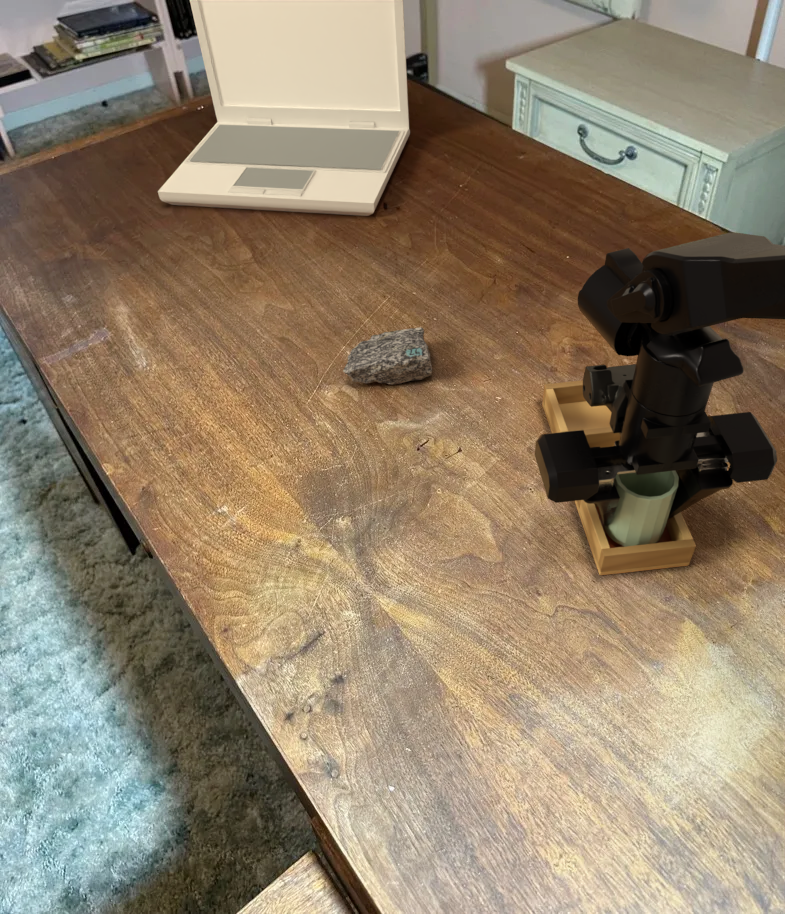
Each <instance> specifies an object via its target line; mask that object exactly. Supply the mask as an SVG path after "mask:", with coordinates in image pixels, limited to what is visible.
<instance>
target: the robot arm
mask: <svg viewBox="0 0 785 914" xmlns="http://www.w3.org/2000/svg"><path fill="white" fill-rule="evenodd" d="M577 307H578V309H579V312H581V314H582V315H583V316H584V318H585V319H586V320H587V321H588V322H589V323H590V324H591V325H592V327H593V328H594V329H595V330H596V331H597V333H598V334H600V336H601V337H602V338H603V339H604V340H605V342H606V343H607V344H608V345H609V346H610V347H611V349H612V350H613V351H614V352H615V353H616V354H617V355H618V356H624V357H636V356H637V358H636V363H634V364H624V365H623V364H622V365H614V366H607V365H606V364H597V365H587V366H585V368H584V372H583V378H582V380H583V397H584V399H585V400H586V401H587V403H588V404H589V405H590V406H591V407H594V406H603V405H604V406H607V408H608V409H609V410H610V411H611V412H612V413H611V418H610V423H609V424H610V426H611V429H612V431H613V433H619V434H620V440H618V441H615V443H614V446H611V447H602V448H600V447H591V448H590V446H589V443H588V441H587V438H586V435H585V433H584V430H577V431H568V432H559V433H552V432H550V433H542V434H540V435H539V437H538V438H537V440H535V446H534V457H535V461H536V464H537V468H538V471H539V475H540V477H541V480H542V483H543V488H544V491H545V493H546V497H547V499H548V500H550V501H552V502H554V503H555V504H558V503H569V502H575V501H577V500H583V501H584V502H586V503H588V504H593V503H596V504H597V506H598V508H599V511H600V515H601V518H602V521H603V524H604V526H607V525H609V524H610V523H611V521H612V519H613V517H614V514H615V511H616V508H617V505H618V502H619V500H620V497H619V494H618V491H617V489H616V486H615V484H614V479H615V477H616V475H618V474H626V473H635V472H636V474H637V475H639V474H648V473H657V472H666V471H675V470H676V473H677V475H678V477H679V481H678V488H677V491H676V494H675V498H674V501H673V504H672V507H671V510H670V513H669V516H668V519H670V518H672V517H673V516H675V515H677V514H678V513H680V512H681V513H682V512H683V511H684V510H686V509H688V508H690V507H691V506H693V505H696V503H699V502H701V501H702V500H704V499H706V498H708V497H710V496H712V495H714V494H715V493H717V492H719V491H722V490H726V489H730V488H731V487H732V485H733V484H734V482H735V483H737V484H738V483H739V484H740V483H749V482H750V483H751V482H758V481H767V480H768V479H770V477H771V475H772V473H773V472H774V469H775V467H776V464H777V462H778V455H777V450H776V449H777V448H775V446H774V445H773V443H772V441H771V439H770V438H769V436H768V434H767V433H766V432H765V430H764V428H763V426H762V425H761V423H760V421H759V420H758V418H757V417H756V416H755V415H754V413H752V412H751V411H743V412H734V413H726V414H725V413H724V414H716V415H708V414H707V412H706V408H707V406H708V402H709V399H710V396H711V393H712V390H713V387H714V384H715V383H717V382H720V381H724V380H728V379H730V378H734V377H739V376H741V375H743V373H744V366H743V363H742V360H741V357H739V355H738V354H736V352H734V350H733V349H732V346H731V342H730V340H729V339H728V338H723V337H722V336H721V335H720V334H719V333H717V331H715V330H714V329H713V328H712V326H715V325H719V324H723V323H727V322H730V321H736V320H740V319H758V320H759V319H761V320H762V319H764V320H785V245H782V244H776V243H773V242H772V241H771V240H770V239H769V238H768V237H766V236H764V235H756V234H750V233H742V232H736V231H735V232H733V231H732V232H731V231H730V232H726V233H721V234H718V235H714V236H710V237H706V238H702V239H697V240H694V241H690V242H685V243H682V244H678V245H673V246H670V247H666V248H662V249H658V250H654V251H651V252H649V253H647V254H646V255H645V257H643V259H642V261H641V260H640V258H639V257H638V255H637V254H636V253H635V252H634V251H633V250H632V249H631V248H629V247H627V248H623V249H619V250H615V251H610V252H607V253H606V254H605V260H604V265H602V266H601V267H599V268H598V269H596V270H595V271H594V272H593V273H592V274H591V275H590V276H589V277H588V278H587V279H586V282H584V284H583V286H582V288H581V289H579V291H578V294H577ZM728 463H729V464H728Z"/></svg>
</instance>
